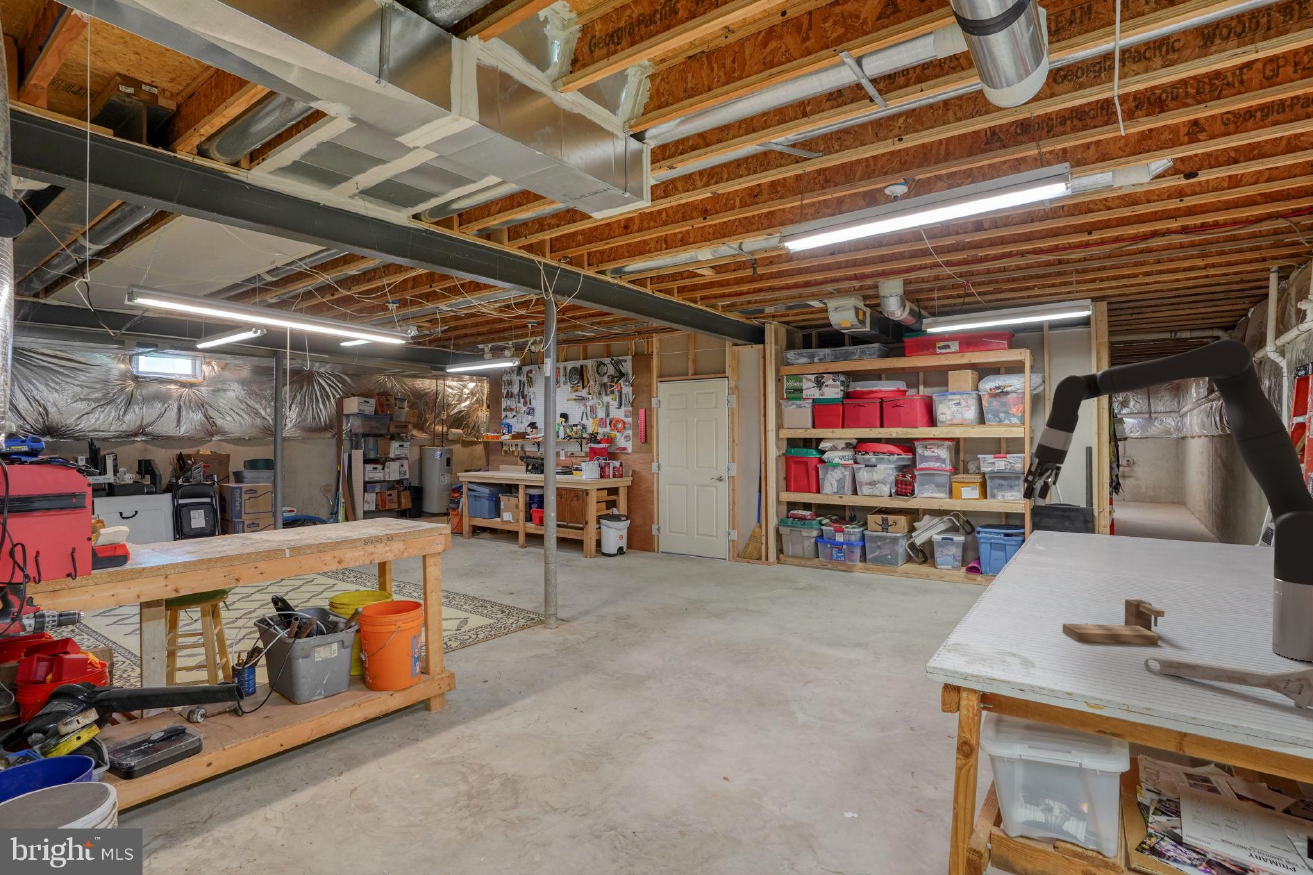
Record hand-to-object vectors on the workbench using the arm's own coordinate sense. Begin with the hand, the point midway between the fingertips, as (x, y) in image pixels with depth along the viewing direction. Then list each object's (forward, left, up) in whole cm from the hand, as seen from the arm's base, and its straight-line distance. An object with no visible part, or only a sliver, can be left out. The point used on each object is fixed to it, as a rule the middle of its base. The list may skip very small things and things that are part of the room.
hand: (1034, 498), depth 180 cm
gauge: (-18, +20, -31) cm, 41 cm away
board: (-6, +26, -31) cm, 41 cm away
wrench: (-12, +56, -32) cm, 66 cm away
